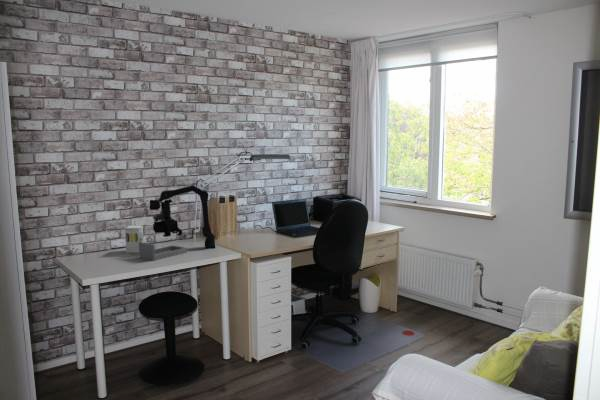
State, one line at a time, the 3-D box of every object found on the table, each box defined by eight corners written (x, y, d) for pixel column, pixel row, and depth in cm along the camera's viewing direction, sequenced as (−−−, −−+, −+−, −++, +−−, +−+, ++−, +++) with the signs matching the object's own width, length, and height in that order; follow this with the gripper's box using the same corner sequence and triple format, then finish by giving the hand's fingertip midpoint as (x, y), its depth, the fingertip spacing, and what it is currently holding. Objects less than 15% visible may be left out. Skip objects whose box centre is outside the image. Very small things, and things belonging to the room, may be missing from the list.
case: (172, 249, 335) (172, 235, 333) (187, 252, 326) (186, 237, 325) (139, 257, 313) (138, 242, 312) (153, 260, 305) (152, 244, 304)
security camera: (182, 235, 331) (182, 221, 330) (154, 238, 324) (153, 223, 323) (181, 233, 337) (180, 219, 336) (153, 236, 331) (152, 221, 330)
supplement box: (125, 252, 327) (124, 227, 325) (130, 249, 337) (128, 225, 334) (140, 252, 327) (138, 227, 325) (144, 249, 336) (143, 225, 334)
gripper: (150, 208, 332) (151, 231, 334) (157, 212, 316) (158, 236, 318) (166, 207, 338) (167, 229, 340) (174, 210, 322) (175, 234, 324)
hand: (167, 232), depth 330 cm, fingers closed on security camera, 7 cm apart
